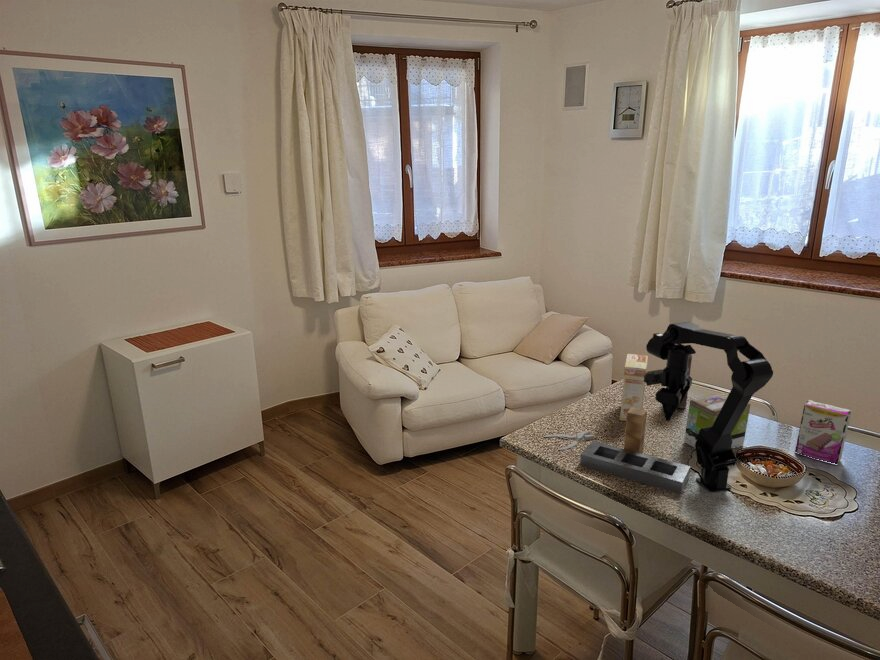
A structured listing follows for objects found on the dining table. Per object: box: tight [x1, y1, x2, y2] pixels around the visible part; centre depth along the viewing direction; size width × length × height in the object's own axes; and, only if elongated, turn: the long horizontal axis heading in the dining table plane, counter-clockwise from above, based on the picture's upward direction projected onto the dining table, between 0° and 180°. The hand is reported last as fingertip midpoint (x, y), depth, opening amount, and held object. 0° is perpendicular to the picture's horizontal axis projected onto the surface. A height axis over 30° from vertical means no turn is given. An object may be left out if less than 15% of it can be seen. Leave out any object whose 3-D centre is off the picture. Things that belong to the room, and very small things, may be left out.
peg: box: [623, 407, 648, 454], centre depth 175 cm, size 4×4×14 cm
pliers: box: [542, 430, 595, 451], centre depth 186 cm, size 10×2×15 cm
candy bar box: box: [794, 399, 852, 464], centre depth 172 cm, size 11×5×16 cm, turn 47°
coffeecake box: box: [619, 353, 649, 422], centre depth 202 cm, size 15×7×20 cm, turn 159°
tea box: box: [683, 392, 751, 449], centre depth 181 cm, size 15×10×15 cm, turn 114°
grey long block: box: [579, 440, 691, 495], centre depth 167 cm, size 28×10×4 cm, turn 56°
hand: (671, 414), depth 173 cm, fingers open, 9 cm apart
